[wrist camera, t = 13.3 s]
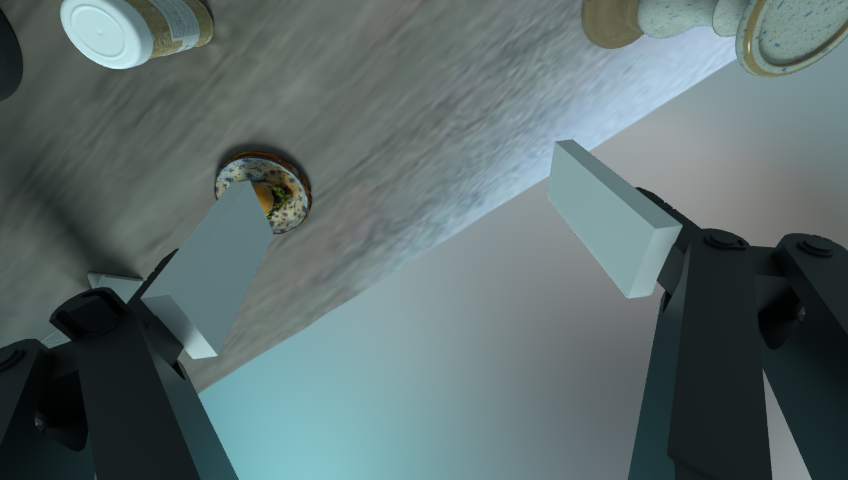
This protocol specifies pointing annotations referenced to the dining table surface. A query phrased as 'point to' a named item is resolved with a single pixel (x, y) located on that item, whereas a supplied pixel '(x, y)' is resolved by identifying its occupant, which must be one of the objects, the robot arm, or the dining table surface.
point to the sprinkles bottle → (134, 28)
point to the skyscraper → (119, 284)
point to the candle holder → (728, 27)
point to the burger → (269, 187)
